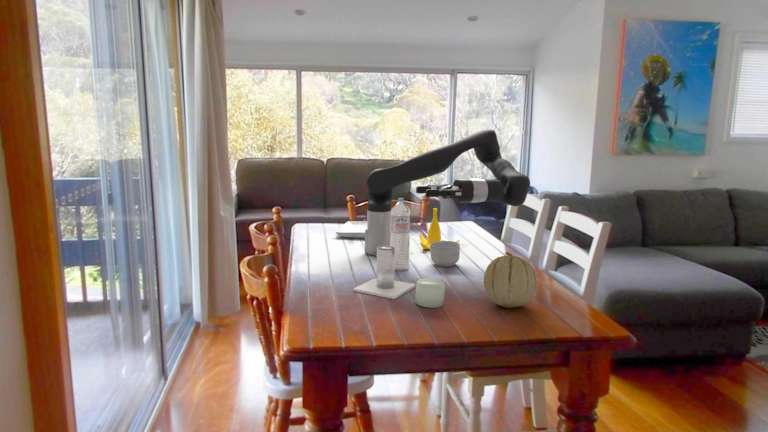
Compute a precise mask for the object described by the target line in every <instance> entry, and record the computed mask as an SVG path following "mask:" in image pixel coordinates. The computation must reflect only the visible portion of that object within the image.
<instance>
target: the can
mask: <svg viewBox="0 0 768 432" xmlns="http://www.w3.org/2000/svg"><path fill="white" fill-rule="evenodd" d="M395 273H396V270H395V247H393V246H379V247H377V256H376V275H375V276H376V277H375V278H376V287H378V288H381V289H391V288H394V283H395V281H396V279H395V278H396V277H395V276H396V275H395Z"/></svg>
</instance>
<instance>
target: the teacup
mask: <svg viewBox="0 0 768 432" xmlns="http://www.w3.org/2000/svg"><path fill="white" fill-rule="evenodd" d="M460 247H461V244H460V242H456V241H453V240H444V239H441V241H437V242H433V243H431V244H430V259H431V262H432V263H434V264H435V265H436V266H437V267H443V268H445V267H452V266H454V265H456V263H458V262H459V260H460V249H461V248H460Z"/></svg>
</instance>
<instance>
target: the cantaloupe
mask: <svg viewBox="0 0 768 432" xmlns="http://www.w3.org/2000/svg"><path fill="white" fill-rule="evenodd" d="M537 282H538V281H537V274H536V272H535V269H534V268H533V266H532V265H531V264H530V262H529V261H528V260H526V259H525V258H522V257H519V256H516V255H513V253H511V252H509V251H506V252H505V255H502V256H498V257H496V258H495V259H493V260H492V261H490V263H489V264H488V265H487V266H486V269H485V271H484V275H483V288H484V290H485V293H486V296H488V298H489V299H490V300H491V301H492V302H493V303H495V304H496V305H498V306H500V307H503V308H508V309H512V308H518V307H521V306H524V305H526V304H527V303H529V302H530V301H531V299H533V297H534V295H535V294H536V289H537V286H538V285H537V284H538V283H537Z"/></svg>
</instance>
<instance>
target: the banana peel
mask: <svg viewBox="0 0 768 432" xmlns="http://www.w3.org/2000/svg"><path fill="white" fill-rule="evenodd" d="M432 212H433V214H432V215H433V216H432V219H431V221H430V225H429V227H428V228H429V229H428V233H427V237H426V238H427V239H426V238H425V237H424V236H423V234H419V240H420V242H421V243H420V246H421V248H422V249H425V250H430V244H431V243H433V242H437V241H441V240H442V234H441V227H440V223H439V220H438V216H437V215H438V208H437V207H434V208H432ZM455 242H458V243H460V239H458V240H456V241H455Z"/></svg>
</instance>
